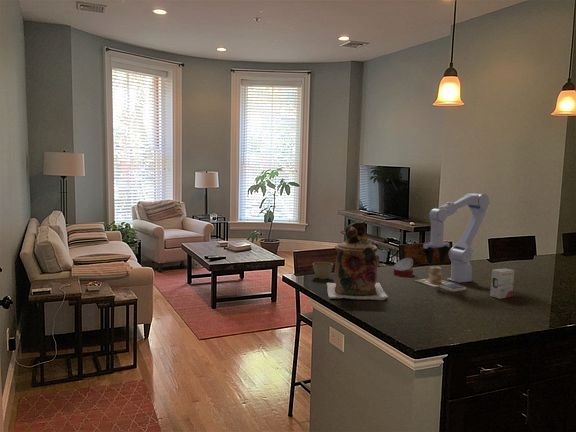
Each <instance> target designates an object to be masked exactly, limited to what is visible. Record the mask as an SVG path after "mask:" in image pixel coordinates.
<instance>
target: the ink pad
mask: <svg viewBox="0 0 576 432" xmlns="http://www.w3.org/2000/svg"><path fill="white" fill-rule="evenodd" d="M439 288H440V289H444V290H445V291H446V290H447V291H450V292H461V291H466V290H467V287H465V286H462V285H460V284H456V283H455V284H445V285H440V287H439Z"/></svg>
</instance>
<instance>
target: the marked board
mask: <svg viewBox="0 0 576 432" xmlns="http://www.w3.org/2000/svg"><path fill="white" fill-rule="evenodd" d="M441 280H442V283H430V282H429V281H428V278H422V279H415V280H414V282H415V283H419V284H422V285H424V286H428V287H431V288H440V285H445V284H456V282H455V283H454V282H451V281H449V280H448V281H446V280H444V279H441Z"/></svg>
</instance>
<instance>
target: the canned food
mask: <svg viewBox="0 0 576 432" xmlns="http://www.w3.org/2000/svg"><path fill="white" fill-rule="evenodd" d="M413 265H414V260H413V259H412V257H405V258H402V259H400V260H399V261H397V262H395V264H394V265H393V268H392V269H393V275H395V276H398V277H412V276H413V274H414V268H412V267H413Z"/></svg>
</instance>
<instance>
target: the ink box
mask: <svg viewBox="0 0 576 432" xmlns="http://www.w3.org/2000/svg"><path fill="white" fill-rule="evenodd" d="M490 278H491V280H490V282H491V283H490V296H489V297H493V298H496V299H499V300H501V299H507V298H511V297H513V293H514V291H513V290H514V280H515V279H514V278H515V270H514V269H510V268H506V267H505V268H495V269H491V277H490Z"/></svg>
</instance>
